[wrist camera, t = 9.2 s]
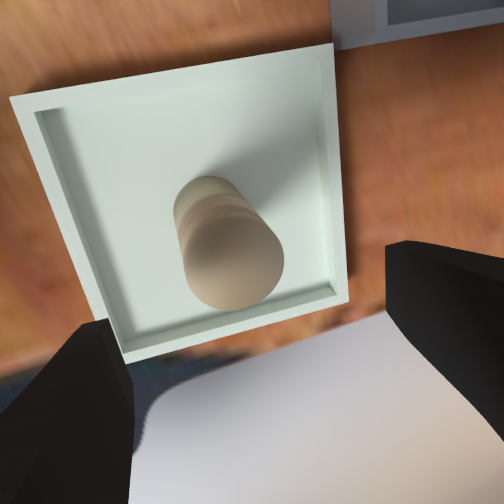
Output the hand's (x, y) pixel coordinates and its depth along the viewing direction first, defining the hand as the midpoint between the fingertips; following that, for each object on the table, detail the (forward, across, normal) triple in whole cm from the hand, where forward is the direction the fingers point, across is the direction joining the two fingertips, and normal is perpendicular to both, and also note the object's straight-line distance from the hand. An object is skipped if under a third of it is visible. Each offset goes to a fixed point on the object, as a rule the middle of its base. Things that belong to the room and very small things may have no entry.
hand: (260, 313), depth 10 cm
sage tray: (+9, 0, 0) cm, 9 cm away
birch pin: (+9, 0, 0) cm, 9 cm away
